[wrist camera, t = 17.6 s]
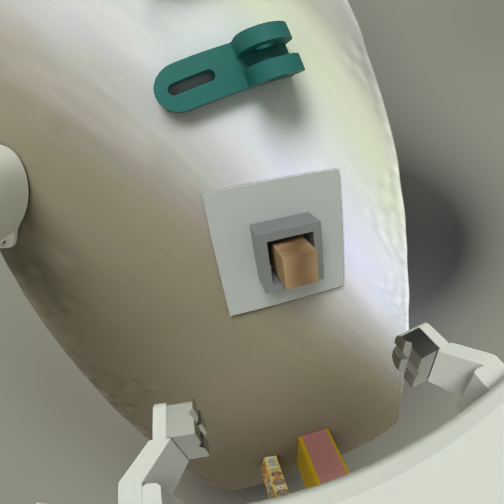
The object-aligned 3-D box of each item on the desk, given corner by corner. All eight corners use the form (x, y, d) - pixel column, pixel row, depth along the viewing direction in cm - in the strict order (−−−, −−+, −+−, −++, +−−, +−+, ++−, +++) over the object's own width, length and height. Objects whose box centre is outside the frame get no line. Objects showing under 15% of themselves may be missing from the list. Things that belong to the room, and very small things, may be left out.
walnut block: (270, 263, 45) (286, 289, 38) (266, 235, 43) (282, 258, 36) (298, 256, 45) (318, 281, 38) (295, 229, 44) (316, 250, 36)
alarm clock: (322, 456, 81) (348, 516, 57) (296, 463, 79) (320, 526, 56) (328, 427, 72) (363, 500, 48) (298, 436, 70) (329, 513, 47)
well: (229, 312, 48) (234, 333, 43) (201, 193, 40) (203, 203, 35) (341, 282, 51) (356, 298, 46) (335, 168, 42) (354, 174, 37)
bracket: (274, 34, 32) (293, 17, 25) (291, 76, 35) (313, 66, 28) (148, 77, 32) (139, 65, 25) (166, 120, 35) (161, 118, 28)
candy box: (263, 456, 72) (275, 498, 58) (277, 454, 73) (290, 495, 59) (259, 468, 75) (271, 506, 62) (272, 466, 76) (284, 504, 63)
